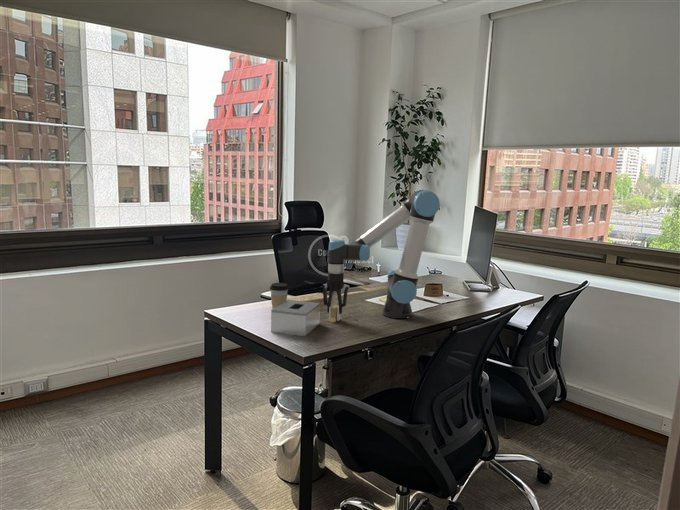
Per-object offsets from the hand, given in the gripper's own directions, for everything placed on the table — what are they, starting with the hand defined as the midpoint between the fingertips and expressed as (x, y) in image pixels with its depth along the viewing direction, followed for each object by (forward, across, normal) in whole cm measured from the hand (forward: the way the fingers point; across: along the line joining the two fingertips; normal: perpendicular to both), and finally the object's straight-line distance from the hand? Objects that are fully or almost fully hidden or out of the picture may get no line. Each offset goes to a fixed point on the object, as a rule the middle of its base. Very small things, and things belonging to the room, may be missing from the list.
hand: (334, 319), depth 239 cm
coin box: (0, +13, +18) cm, 22 cm away
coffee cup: (0, +29, 0) cm, 29 cm away
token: (0, 0, 0) cm, 0 cm away
